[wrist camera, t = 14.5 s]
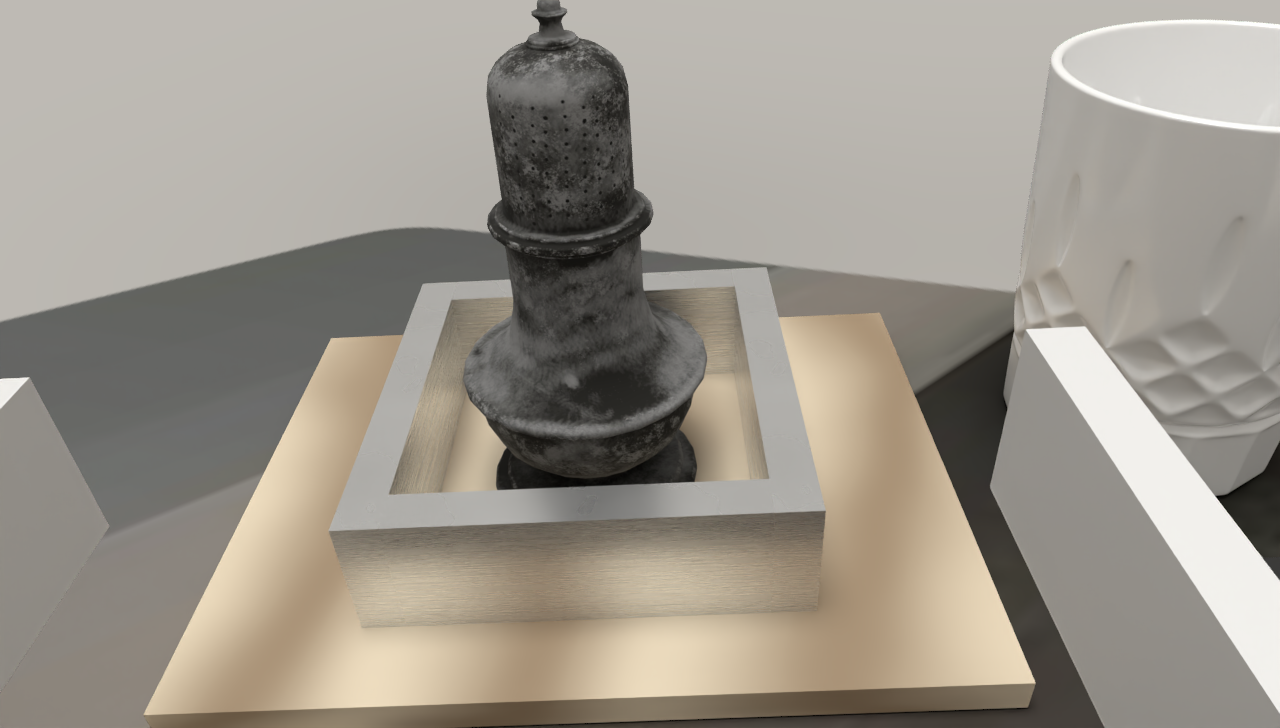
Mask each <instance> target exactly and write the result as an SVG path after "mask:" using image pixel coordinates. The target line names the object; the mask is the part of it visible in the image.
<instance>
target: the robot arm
mask: <svg viewBox="0 0 1280 728" xmlns="http://www.w3.org/2000/svg"><path fill="white" fill-rule="evenodd" d="M990 488H991V490H992V493H993V495H994V497H995V499H996V501H997V503H998V505H999V507H1000V509H1001V511H1002V514H1003V516H1004V518H1005V520H1006V522H1007V524H1008V526H1009V528H1010V530H1011V532H1012V535H1013V537H1014V539H1015V541H1016V543H1017V545H1018V547H1019V549H1020V551H1021V553H1022V556H1023V558H1024V560H1025V562H1026V564H1027V566H1028V568H1029V570H1030V572H1031V574H1032V577H1033V579H1034V581H1035V583H1036V585H1037V587H1038V589H1039V591H1040V593H1041V595H1042V598H1043V600H1044V602H1045V604H1046V606H1047V608H1048V610H1049V612H1050V614H1051V616H1052V619H1053V621H1054V623H1055V625H1056V627H1057V629H1058V631H1059V633H1060V635H1061V637H1062V640H1063V642H1064V644H1065V646H1066V648H1067V650H1068V652H1069V654H1070V656H1071V658H1072V661H1073V663H1074V665H1075V667H1076V669H1077V671H1078V673H1079V675H1080V677H1081V679H1082V682H1083V684H1084V686H1085V688H1086V690H1087V692H1088V694H1089V696H1090V698H1091V700H1092V703H1093V705H1094V707H1095V709H1096V711H1097V713H1098V715H1099V717H1100V719H1101V721H1102V724H1103V726H1104V728H1280V557H1271V558H1262V557H1261V556H1260V554H1259V553H1258V552H1257V550H1256V549H1255V548H1254V546H1253V545H1252V544H1251V542H1250V541H1249V540H1248V539H1247V537H1246V536H1245V535H1244V533H1243V532H1242V531H1241V529H1240V528H1239V527H1238V525H1237V524H1236V523H1235V522H1234V520H1233V519H1232V518H1231V516H1230V515H1229V514H1228V512H1227V511H1226V510H1225V508H1224V507H1223V506H1222V505H1221V503H1220V502H1219V501H1218V499H1217V498H1216V497H1215V495H1214V494H1213V493H1212V491H1211V490H1210V489H1209V488H1208V486H1207V485H1206V484H1205V482H1204V481H1203V480H1202V478H1201V477H1200V476H1199V474H1198V473H1197V472H1196V471H1195V469H1194V468H1193V467H1192V465H1191V464H1190V463H1189V461H1188V460H1187V459H1186V457H1185V456H1184V455H1183V454H1182V452H1181V451H1180V450H1179V448H1178V447H1177V446H1176V444H1175V443H1174V442H1173V440H1172V439H1171V438H1170V437H1169V435H1168V434H1167V433H1166V431H1165V430H1164V429H1163V427H1162V426H1161V425H1160V424H1159V422H1158V421H1157V420H1156V418H1155V417H1154V416H1153V414H1152V413H1151V412H1150V410H1149V409H1148V408H1147V407H1146V405H1145V404H1144V403H1143V401H1142V400H1141V399H1140V397H1139V396H1138V395H1137V393H1136V392H1135V391H1134V390H1133V388H1132V387H1131V386H1130V384H1129V383H1128V382H1127V380H1126V379H1125V378H1124V376H1123V375H1122V374H1121V373H1120V371H1119V370H1118V369H1117V367H1116V366H1115V365H1114V363H1113V362H1112V361H1111V359H1110V358H1109V357H1108V356H1107V354H1106V353H1105V352H1104V350H1103V349H1102V348H1101V346H1100V345H1099V344H1098V342H1097V341H1096V340H1095V339H1094V337H1093V336H1092V335H1091V333H1090V332H1089V331H1088V329H1087V328H1086V327H1085V326H1083V327H1063V328H1042V329H1026V330H1025V334H1024V338H1023V343H1022V347H1021V352H1020V356H1019V361H1018V365H1017V370H1016V374H1015V378H1014V383H1013V387H1012V392H1011V396H1010V401H1009V405H1008V409H1007V414H1006V418H1005V423H1004V427H1003V432H1002V436H1001V441H1000V445H999V449H998V454H997V458H996V463H995V467H994V472H993V476H992V481H991V485H990ZM108 528H109V525H108V523H107V521H106V519H105V517H104V515H103V514H102V512H101V510H100V508H99V506H98V504H97V502H96V500H95V499H94V497H93V495H92V493H91V491H90V489H89V487H88V486H87V484H86V482H85V480H84V478H83V476H82V474H81V473H80V471H79V469H78V467H77V465H76V463H75V461H74V459H73V458H72V456H71V454H70V452H69V450H68V448H67V446H66V445H65V443H64V441H63V439H62V437H61V435H60V433H59V432H58V430H57V428H56V426H55V424H54V422H53V420H52V418H51V417H50V415H49V413H48V411H47V409H46V407H45V405H44V404H43V402H42V400H41V398H40V396H39V394H38V392H37V391H36V389H35V387H34V385H33V383H32V381H31V379H30V378H10V379H0V693H1V691H2V690H3V688H4V687H5V685H6V684H7V682H8V681H9V679H10V678H11V676H12V675H13V673H14V671H15V670H16V668H17V667H18V665H19V664H20V662H21V661H22V659H23V658H24V656H25V655H26V653H27V652H28V650H29V649H30V647H31V646H32V644H33V642H34V641H35V639H36V638H37V636H38V635H39V633H40V632H41V630H42V629H43V627H44V626H45V624H46V623H47V621H48V620H49V618H50V616H51V615H52V613H53V612H54V610H55V609H56V607H57V606H58V604H59V603H60V601H61V600H62V598H63V597H64V595H65V594H66V592H67V591H68V589H69V587H70V586H71V584H72V583H73V581H74V580H75V578H76V577H77V575H78V574H79V572H80V571H81V569H82V568H83V566H84V565H85V563H86V562H87V560H88V558H89V557H90V555H91V554H92V552H93V551H94V549H95V548H96V546H97V545H98V543H99V542H100V540H101V539H102V537H103V536H104V534H105V533H106V531H107V529H108Z"/></svg>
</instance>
